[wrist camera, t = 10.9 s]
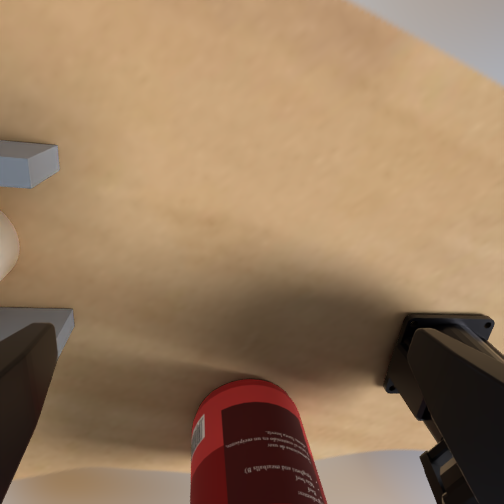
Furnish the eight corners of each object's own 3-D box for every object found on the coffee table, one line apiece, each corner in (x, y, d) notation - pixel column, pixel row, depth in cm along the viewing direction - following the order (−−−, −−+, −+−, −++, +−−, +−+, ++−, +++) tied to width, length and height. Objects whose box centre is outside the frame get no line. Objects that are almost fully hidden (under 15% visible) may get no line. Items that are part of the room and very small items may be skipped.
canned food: (216, 469, 29) (227, 672, 19) (172, 399, 25) (156, 603, 15) (310, 434, 29) (370, 621, 19) (277, 359, 25) (330, 540, 15)
